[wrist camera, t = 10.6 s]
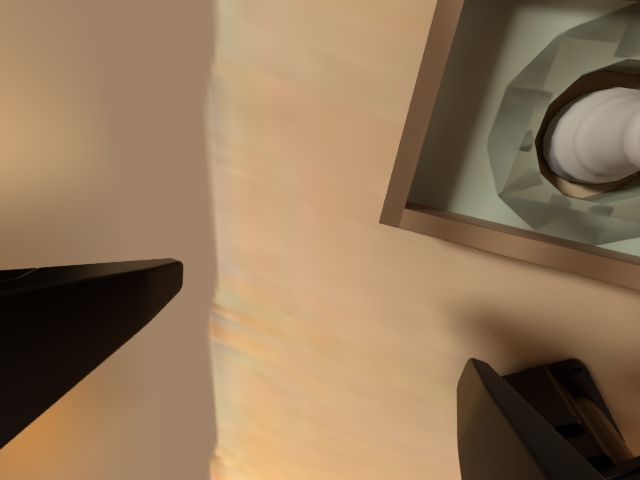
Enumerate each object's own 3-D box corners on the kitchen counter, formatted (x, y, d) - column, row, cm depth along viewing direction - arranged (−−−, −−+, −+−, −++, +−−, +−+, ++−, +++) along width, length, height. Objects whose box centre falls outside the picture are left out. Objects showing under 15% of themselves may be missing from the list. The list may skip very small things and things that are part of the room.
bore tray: (929, 21, 12) (1208, -50, 8) (733, 292, 16) (847, 343, 12) (447, -20, 16) (459, -81, 11) (386, 207, 20) (378, 223, 15)
